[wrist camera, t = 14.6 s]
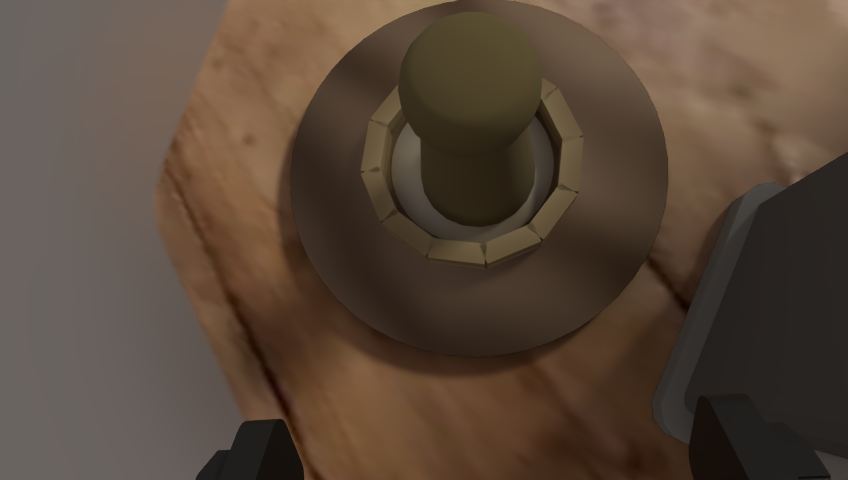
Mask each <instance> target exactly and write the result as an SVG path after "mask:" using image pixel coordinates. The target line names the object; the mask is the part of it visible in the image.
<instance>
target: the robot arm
mask: <svg viewBox="0 0 848 480" xmlns="http://www.w3.org/2000/svg"><path fill="white" fill-rule="evenodd" d="M689 461H690V466H691V471H692V474H693V478H694V480H831V475H830V474H829V472H828V470H827V469H826V467H825V466H824V464H823V463H822V461H821V460H820V458H819V457H818V455H817V454H816V452H815V451H814V449H813V447H812V446H811V445H810V444H808V443H807V442H806V441H805V440H804V439H803V438H801V437H800V436H799V435H798V434H797V433H795V432H794V431H793V430H792V429H791V428H790V427H788V426H787V425H786V424H785V423H784V422H770V423H765V421H764V420H763V418H762V416H761V415H760V413H759V411H758V410H757V408H756V406H755V405H754V403H753V401H752V400H751V399H750V397H749V396H747V395H746V394H744V393H732V394H716V395H701V396H699V398H698V400H697V405H696V410H695V415H694V421H693V426H692V432H691V437H690V442H689ZM196 480H304V470H303V465H302V462H301V460H300V457H299V455H298V452H297V450H296V447H295V445H294V443H293V440H292V438H291V435H290V433H289V430H288V428H287V425H286V423H285V422H284V420H282V419H271V420H254V421H245V422H243V423H242V424H241V426H240V428H239V430H238V432H237V434H236V437H235V440H234V442H233V444H232V447H231V449H230V450H219V451H217V452H216V453H215V455H214V456H213V457H212V458H211V459H210V460H209V462H208V463H207V464H206V465H205V466H204V468H203V469H202V470H201V471H200V472H199V474H198V475H197V477H196Z"/></svg>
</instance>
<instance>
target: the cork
mask: <svg viewBox="0 0 848 480" xmlns="http://www.w3.org/2000/svg"><path fill="white" fill-rule="evenodd" d="M542 76H543V75H542V72H541V68H540V65H539V61H538V58H537V54H536V51H535V48H534V47H533V46H532V44H531V43H530V41H529V40H528V39H527V37H526V36H525V34H524V33H523V32H522V31H521V30H519V29H518V28H516V27H515V26H514V25H512V24H511V23H509V22H508V21H507V20H505V19H503V18H500V17H497V16H494V15H491V14H488V13H485V12H461V13H457V14H453V15H449V16H445V17H443V18H442V19H440V20H438V21H436V22H435V23H433V24H431V25H430V26H428V27H427V28H426V29H424V30H423V32H422V33H421V34H420V35H419V36H418V37H417V38H416V39H415V40H414V41H413V42H412V43H411V44H410V46H409V48H408V50H407V52H406V54H405V56H404V58H403V60H402V62H401V69H400V76H399V84H398V94H399V99H400V104H401V108H402V112H403V114H404V117H405V118H406V120H407V122H408V123H409V125H410V127H411V128H412V130H413V131H414V133H415V134H416V135H417V136H418V137H419V138H420V151H421V179H422V184H423V189H424V193H425V195H426V197H427V198H428V200H429V202H430V203H431V205H432V207H433V208H434V209H435V210H437V211H438V212H439V213H440V214H441V215H442V216H444V217H445V218H446V219H448V220H450V221H453V222H455V223H458V224H460V225H462V226H473V227H484V226H489V225H493V224H498V223H500V222H502V221H504V220H505V219H507V218H509V217H511V216H512V215H514V214H515V213H516V212H517V211H518V210H519V209H520V208H521V207H522V206H523V205H524V203H525V202H526V201H527V200H528V197H529V195H530V193H531V190H532V188H533V186H534V180H535V161H534V156H533V150H532V145H531V139H530V134H529V128H528V126H529V125H530V124H531V122H532V120H533V117H534V115H535V113H536V111H537V108H538V106H539V103H540V99H541V89H542Z"/></svg>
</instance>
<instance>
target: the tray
mask: <svg viewBox="0 0 848 480" xmlns="http://www.w3.org/2000/svg"><path fill="white" fill-rule="evenodd" d="M461 12H485V13H488V14H491V15H494V16H497V17H500V18H503V19H505V20H507V21H508V22H509V23H511V24H512V25H514V26H515V27H516V28H518V29H519V30H521V31H522V32H523V33H524V34H525V36H526V37H527V39H528V40H529V41H530V43H531V44H532V46H533V47H534V48H535V51H536V54H537V58H538V61H539V65H540V68H541V72H542V75H543V76H542V89H541V99H540V103H539V106H538V108H537V111H536V113H535V115H534V117H533V120H532V122H531V124H530V125H529V126H528V128H529V134H530V139H531V145H532V150H533V156H534V161H535V180H534V186H533V188H532V190H531V193H530V195H529V197H528V200H527V201H526V202H525V203H524V205H523V206H522V207H521V208H520V209H519V210H518V211H517V212H516V213H515V214H514V215H512V216H511V217H509V218H507V219H505V220H504V221H502V222H500V223H498V224H493V225H489V226H484V227H473V226H462V225H460V224H458V223H455V222H453V221H450V220H448V219H446V218H445V217H444V216H442V215H441V214H440V213H439V212H438V211H437V210H435V209H434V208H433V207H432V205H431V203H430V202H429V200H428V198H427V197H426V195H425V193H424V189H423V184H422V179H421V151H420V138H419V137H418V136H417V135H416V134H415V133H414V131H413V130H412V128H411V127H410V125H409V123H408V122H407V120H406V118H405V117H404V114H403V112H402V108H401V104H400V99H399V94H398V84H399V76H400V69H401V62H402V60H403V58H404V56H405V54H406V52H407V50H408V48H409V46H410V44H411V43H412V42H413V41H414V40H415V39H416V38H417V37H418V36H419V35H420V34H421V33H422V32H423V30H424V29H426V28H427V27H428V26H430V25H431V24H433V23H435V22H436V21H438V20H440V19H442V18H443V17H445V16H449V15H453V14H457V13H461ZM667 188H668V156H667V150H666V144H665V138H664V133H663V130H662V127H661V124H660V120H659V117H658V114H657V111H656V109H655V107H654V105H653V103H652V101H651V99H650V97H649V94H648V92H647V90H646V89H645V87H644V86H643V84H642V83H641V81H640V80H639V78H638V77H637V75H636V74H635V72H634V71H633V69H632V68H631V67H630V66H629V65H628V64H627V63H626V61H625V60H624V59H623V58H622V57H621V56H620V55H619V54H618V52H616V51H615V50H614V49H613V48H612V47H611V46H609V45H608V44H607V43H606V42H605V41H604V40H603V39H601V38H600V37H599V36H597V35H596V34H594V33H593V32H591V31H590V30H588V29H587V28H585V27H584V26H582V25H581V24H579V23H577V22H575V21H573V20H571V19H569V18H567V17H565V16H563V15H561V14H558V13H555V12H552V11H550V10H547V9H544V8H541V7H538V6H534V5H529V4H525V3H520V2H516V1H506V0H462V1H454V2H447V3H443V4H439V5H435V6H431V7H427V8H423V9H421V10H418V11H415V12H413V13H410V14H407V15H405V16H402V17H400V18H398V19H396V20H394V21H392V22H390V23H388V24H387V25H385V26H383V27H381V28H380V29H378V30H377V31H375V32H374V33H372V34H371V35H369V36H368V37H366V38H365V39H363V40H362V41H361V42H360V43H359V44H357V45H356V46H355V47H354V48H353V49H352V50H350V51H349V52H348V53H347V54H346V55H345V56H344V57H343V58H342V59H341V60H340V61H339V62H338V64H337V65H336V66H335V67H334V68H333V69H332V70H331V71H330V73H329V74H328V75H327V77H326V78H325V80H324V81H323V82H322V84H321V85H320V86H319V88H318V90H317V91H316V93H315V95H314V97H313V99H312V100H311V102H310V104H309V106H308V108H307V110H306V113H305V115H304V117H303V120H302V122H301V125H300V127H299V131H298V135H297V138H296V142H295V146H294V150H293V158H292V165H291V200H292V207H293V214H294V219H295V223H296V226H297V230H298V233H299V237H300V240H301V242H302V244H303V247H304V249H305V251H306V254H307V256H308V258H309V260H310V262H311V264H312V265H313V267H314V269H315V270H316V272H317V274H318V275H319V277H320V278H321V280H322V281H323V282H324V284H325V285H326V286H327V287H328V289H329V290H330V291H331V292H332V294H333V295H334V296H335V297H336V298H337V299H338V300H339V301H340V302H341V303H342V304H343V305H344V306H345V307H346V308H347V309H348V310H349V311H350V312H352V313H353V314H354V315H355V316H356V317H358V318H359V319H361V320H362V321H364V322H365V323H366V324H368V325H369V326H371V327H372V328H373V329H375V330H377V331H379V332H381V333H383V334H385V335H387V336H389V337H390V338H392V339H394V340H396V341H399V342H402V343H404V344H407V345H410V346H413V347H416V348H418V349H421V350H426V351H431V352H435V353H440V354H445V355H454V356H467V357H483V356H500V355H505V354H510V353H515V352H520V351H525V350H528V349H531V348H534V347H537V346H540V345H543V344H546V343H549V342H552V341H554V340H556V339H558V338H560V337H562V336H564V335H566V334H568V333H570V332H572V331H574V330H576V329H577V328H579V327H580V326H582V325H583V324H585V323H586V322H588V321H589V320H591V319H592V318H593V317H595V316H596V315H598V314H599V313H600V312H601V311H602V310H603V309H605V308H606V307H607V306H608V305H609V304H610V303H611V302H612V301H613V300H615V299H616V298H617V297H618V296H619V294H620V293H621V292H622V291H623V290H624V288H625V287H626V286H627V285H628V284H629V283H630V281H631V280H632V279H633V278H634V276H635V275H636V273H637V272H638V270H639V268H640V267H641V265H642V264H643V262H644V260H645V259H646V257H647V256H648V254H649V251H650V249H651V247H652V245H653V242H654V240H655V238H656V236H657V233H658V231H659V227H660V224H661V220H662V216H663V213H664V209H665V204H666V196H667Z"/></svg>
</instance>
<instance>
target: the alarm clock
mask: <svg viewBox="0 0 848 480" xmlns="http://www.w3.org/2000/svg"><path fill="white" fill-rule="evenodd" d="M732 393H744V394H746V395H747V396H749V397H750V399H751V400H752V401H753V403H754V405H755V406H756V408H757V410H758V411H759V413H760V415H761V416H762V418H763V420H764V421H765V423H770V422H784V423H785V424H786V425H787V426H788V427H790V428H791V429H792V430H793V431H794V432H795V433H797V434H798V435H799V436H800V437H801V438H803V439H804V440H805V441H806V442H807V443H808V444H810V445H811V446H812V447H813V449H814V451H815V452H816V454H817V455H818V457H819V458H820V460H821V461H822V463H823V464H824V466H825V467H826V469H827V470H828V472H829V474H830V475H831V480H848V152H847V153H845V154H843V155H842V156H840V157H838V158H837V159H835V160H833V161H832V162H830V163H828V164H827V165H825V166H823V167H822V168H820V169H818V170H816V171H815V172H813V173H811V174H810V175H808V176H806V177H805V178H803V179H801V180H800V181H798V182H796V183H795V184H793V185H791V186H789V187H788V188H787V187H784V186H782V185H779V184H776V183H767V184H759V185H757V186H756V187H754V188H753V189H751V190H750V191H748V192H747V193H745V194H744V195H742V196H741V197H739V198H738V199H736V200H735V201H733V202H732V203H731V206H730V208H729V211H728V213H727V215H726V218H725V220H724V223H723V225H722V228H721V230H720V233H719V235H718V238H717V240H716V243H715V245H714V248H713V250H712V253H711V255H710V258H709V260H708V263H707V265H706V268H705V270H704V273H703V275H702V278H701V280H700V283H699V285H698V288H697V290H696V292H695V295H694V297H693V300H692V302H691V305H690V307H689V310H688V312H687V315H686V317H685V320H684V322H683V325H682V327H681V330H680V332H679V335H678V337H677V340H676V342H675V345H674V347H673V350H672V352H671V355H670V357H669V360H668V362H667V365H666V367H665V370H664V372H663V374H662V377H661V379H660V382H659V384H658V387H657V389H656V392H655V394H654V397H653V399H652V402H651V404H652V409H653V415H654V420H655V421H656V423H657V424H658V425H659V427H660V428H661V430H662V431H663V432H664V433H665V434H667V435H669V436H672V437H674V438H676V439H678V440H680V441H682V442H684V443H686V444H688V445H689V442H690V437H691V432H692V426H693V421H694V415H695V410H696V405H697V400H698V398H699V396H701V395H716V394H732Z"/></svg>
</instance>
